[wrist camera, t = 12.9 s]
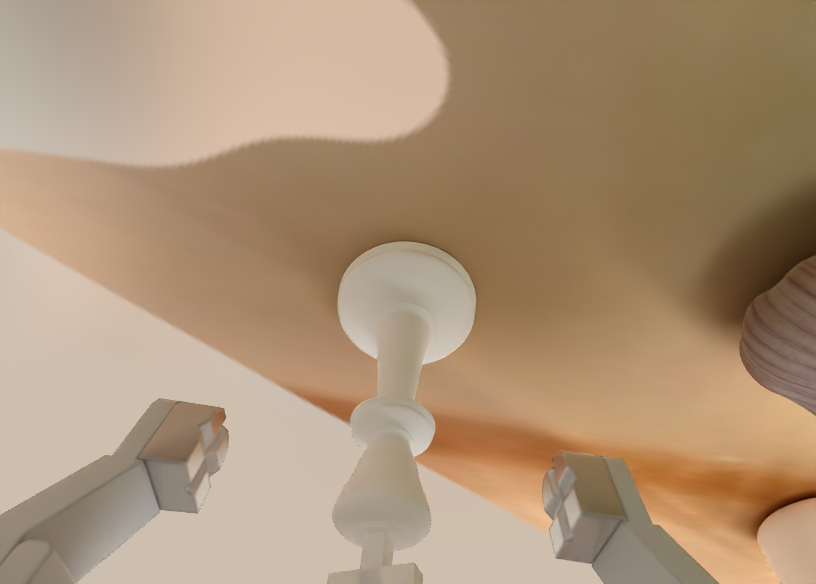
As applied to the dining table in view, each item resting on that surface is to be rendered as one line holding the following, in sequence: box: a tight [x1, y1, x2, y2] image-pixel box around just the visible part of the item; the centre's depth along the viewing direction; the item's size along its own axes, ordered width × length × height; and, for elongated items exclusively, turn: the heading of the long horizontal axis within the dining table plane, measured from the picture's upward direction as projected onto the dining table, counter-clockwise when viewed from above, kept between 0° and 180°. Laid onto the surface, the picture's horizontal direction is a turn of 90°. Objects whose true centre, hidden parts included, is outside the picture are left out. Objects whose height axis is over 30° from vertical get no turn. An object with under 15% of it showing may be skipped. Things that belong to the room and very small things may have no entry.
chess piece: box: [327, 241, 476, 584], centre depth 11 cm, size 5×5×10 cm
